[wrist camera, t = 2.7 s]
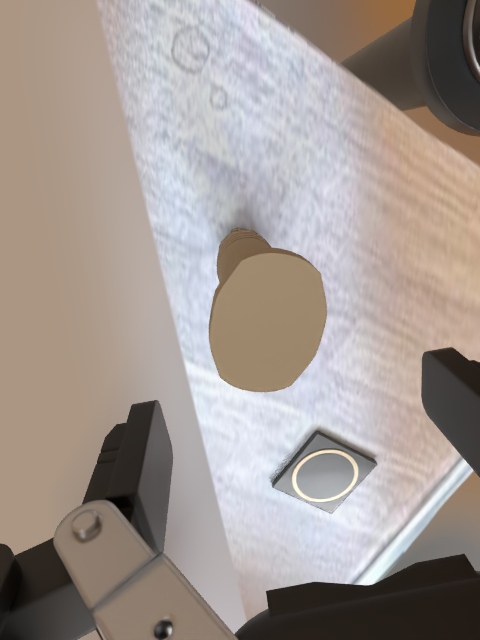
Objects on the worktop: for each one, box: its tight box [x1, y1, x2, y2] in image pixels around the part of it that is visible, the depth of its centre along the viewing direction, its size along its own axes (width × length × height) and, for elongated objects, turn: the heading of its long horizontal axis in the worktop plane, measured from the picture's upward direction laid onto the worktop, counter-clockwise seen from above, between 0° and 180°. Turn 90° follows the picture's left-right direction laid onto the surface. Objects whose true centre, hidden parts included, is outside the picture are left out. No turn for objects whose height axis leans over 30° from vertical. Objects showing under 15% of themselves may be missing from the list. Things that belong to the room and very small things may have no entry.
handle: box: [209, 228, 327, 392], centre depth 24 cm, size 5×6×15 cm
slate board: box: [272, 431, 377, 514], centre depth 40 cm, size 8×8×1 cm
